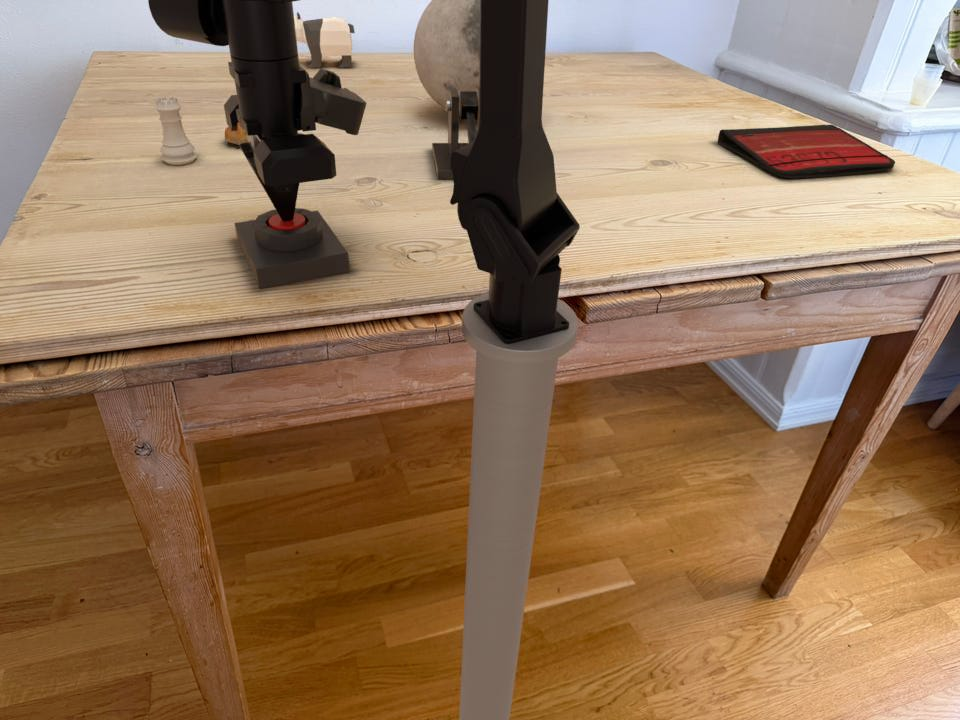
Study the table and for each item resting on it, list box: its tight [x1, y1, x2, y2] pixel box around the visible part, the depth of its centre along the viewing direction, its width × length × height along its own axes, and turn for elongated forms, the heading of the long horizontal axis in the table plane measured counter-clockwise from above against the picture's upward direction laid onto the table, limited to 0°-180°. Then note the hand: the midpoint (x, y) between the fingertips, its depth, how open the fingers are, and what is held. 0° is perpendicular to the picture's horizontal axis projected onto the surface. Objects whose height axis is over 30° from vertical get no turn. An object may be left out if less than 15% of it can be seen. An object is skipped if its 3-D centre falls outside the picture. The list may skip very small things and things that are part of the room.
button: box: [269, 213, 306, 230], centre depth 69 cm, size 4×4×2 cm
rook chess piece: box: [154, 95, 197, 166], centre depth 89 cm, size 4×4×8 cm
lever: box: [459, 91, 479, 143], centre depth 88 cm, size 12×5×2 cm, turn 7°
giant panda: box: [294, 11, 356, 69], centre depth 134 cm, size 15×6×10 cm, turn 100°
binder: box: [717, 124, 896, 179], centre depth 103 cm, size 16×2×21 cm
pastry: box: [224, 123, 248, 146], centre depth 98 cm, size 9×7×4 cm
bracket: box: [431, 87, 479, 180], centre depth 92 cm, size 11×9×10 cm
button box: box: [233, 207, 351, 290], centre depth 70 cm, size 11×9×4 cm
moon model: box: [413, 0, 480, 117], centre depth 107 cm, size 20×20×20 cm
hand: (287, 219), depth 68 cm, fingers closed, pressing on button
